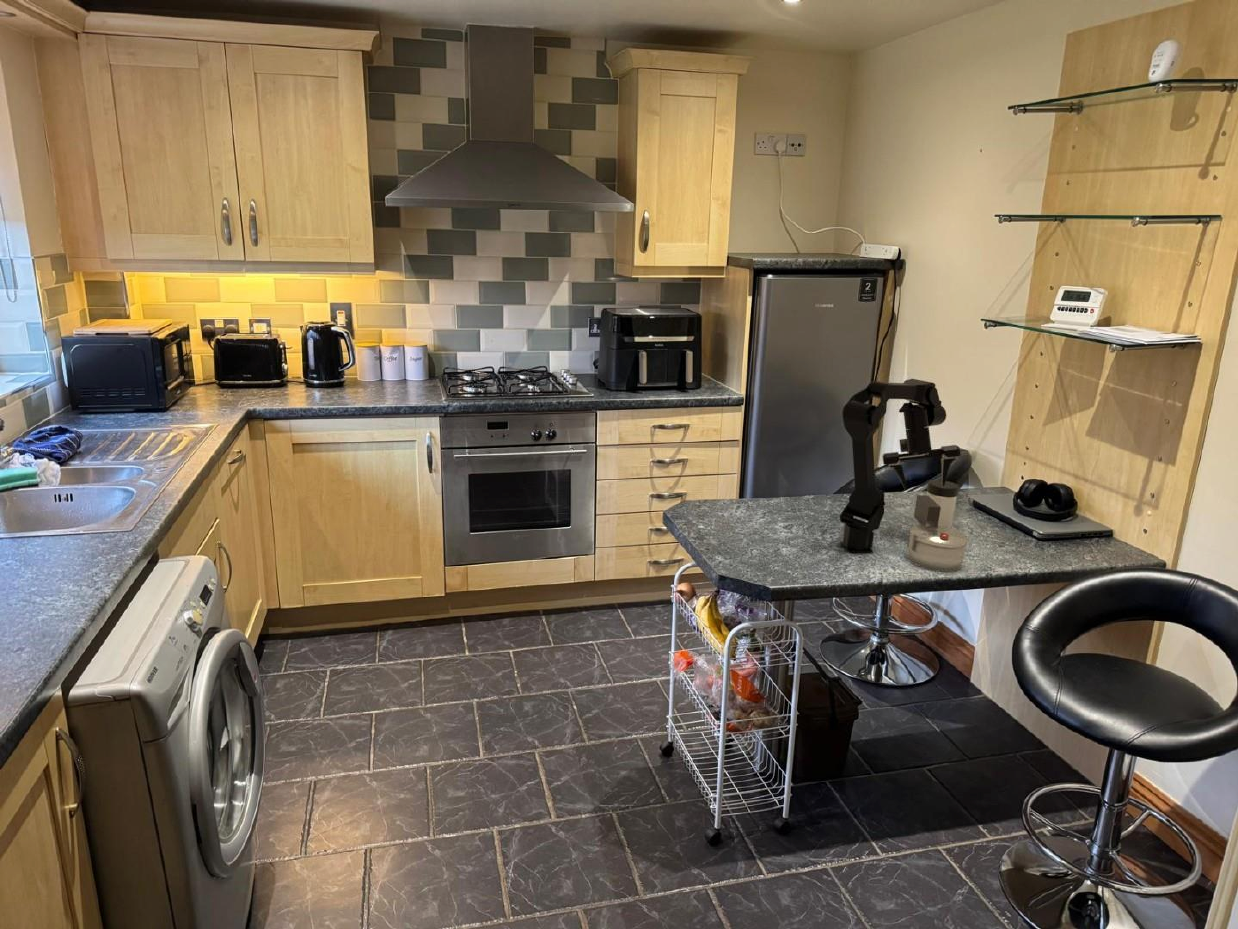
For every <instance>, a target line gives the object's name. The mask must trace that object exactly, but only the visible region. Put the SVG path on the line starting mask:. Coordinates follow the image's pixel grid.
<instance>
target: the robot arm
mask: <svg viewBox="0 0 1238 929" xmlns="http://www.w3.org/2000/svg"><path fill="white" fill-rule="evenodd" d="M936 385H937V384H936V383H935V382H932V381H931V382H930V381H926V380H923V379H922V380H921V379H917V378H910V379H906V380H904V382H885V381H884V382H882V381H877V380H875V381H870V383H868V385H867V386H866V387H865V388H864V389H862V390H860V391H858V392H857V393H854V394H853V395H852V396H851V398H849V400H848V401H847V403H846V404H845V405H844V406H843V408H842V411H841V412H842V413H841V414H842V416H841V417H842V421H843V425H844V429H845V430H846V433H848V435H849V437H850V438H851V445H852V446H851V447H852V448H851V449H852V464H853V480H854V489H853V491H852V492H851V493H850V495H849V497H848V503H847V504H846V505H845V507H844V508H843V510H842V512H841V513H840V514H839V521H840V522H839V523H843V524H844V531H843V537H842V541H839V545H841V546H842V548H843V549H845V550H846V551H847V552H848V553H850V554H851V553H853V554H858V553H865V554H866V553H869V554H871V553H873V552H874V550H873V549H872V548H873V543H874V537H875V533H874V531H877V530H879V528H880V527H881V526H880V525H881V523H882V520H883V517H884V515H885V514H884V513H885V505H886V502H885V493H884V490H882V489H878V488H877V486H876V472H875V469H876V468H875V453H874V452H875V451H874V435H875V434H876V432H877V430H878V429H879V428H880V421H881V420H882V418H883V417H885V415H886V413H887V406H888V403H887V402H888V401H889V400H906V401H908V402H904V403H903V404H902V406H901V407H900V408H899V410H898V412H899V413H903V420H904V426H905V435H906V438H901V439H899V449H900V452H901V453H899V452H898V451H893V452H886V453H883V454H882V456H881V457H882V463H883V465H884V466H885V465H886V466H888V467H889V468H891V469H892V468H893V469H894V471H895V472H896V474H897V476H898V478H899V480H900V481H901V484H902V486H903V488H904V490H905V491H907V490H908V487H907V485H908V484H907V481H906V478H905V473H904V469H903V466H902V463H901V461H909V460H910V461H911V460H919V459H925V458H927V459H928V458H934V457H935V458H936V457H942V458H940V463H941V480H942V486H944V485H945V481H947V476H948V472H949V469H950V467H951V464H952V461H956V457H961V449H960V446H958V445H957V444H952V445H942V446H940V449H932V444H931V443H932V442H931V434H930V427H932V426H940V425H942V424H943V423H944V422H945V421H946V420H947V411H946V409H945V408H944V406H943V405H942V400H940V396H939V393H938V389H937V387H936ZM873 398H875V399H879V400H880V402H879V403H878V405H877V406H876V405H875V404H869V403H867V402H868V401H870V400H872V399H873ZM855 517H857V518H855ZM858 518H859V519H858ZM862 519H863V520H862ZM864 520H865V521H864Z"/></svg>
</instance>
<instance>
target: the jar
mask: <svg viewBox="0 0 1238 929" xmlns="http://www.w3.org/2000/svg"><path fill="white" fill-rule="evenodd" d="M959 489H960V487H959V485H958V484H957V483H954V482H952V481H948V480H946V481H945V485H944V486H942V479H932V480H931V479H930V480H929V481H928V482H927V485H926V493H925V496H929V497H930V498H931V499H932V500H933V501H935V502H936V503H937V504H938V505H939V506H940V507H941V510H940V516H939V521H938V526H942V527H947V528H950V529H952V525H953V520H954V516H955V515H954V514H955V508H956V504H957V498H958V494H959Z"/></svg>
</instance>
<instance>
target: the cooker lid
mask: <svg viewBox="0 0 1238 929" xmlns="http://www.w3.org/2000/svg"><path fill="white" fill-rule="evenodd" d="M940 510H941V507H940V506H939V505H938V504H937V503H936V502H935V501H933V500H932V499H931V498H930V497H929V496H926V495H922V494H921V495H920V494H917V495H916V500H915V507H914V511H913V512H914V513H913V518H914V519H915V520H916V521H917V522H918V523H919V524H918V525H914V526H912V527H911V528H910V531H909V534H910V535H911V537H912V538H914V539H915V540H917V541H919V542H922V543H925V544H928V545H932V546H936V547H943V548H960V547H964V546H967V545H968V541H969V539H968V537H967V535H966V534H964V533H963V532H961V531H958V530H956V529H953V528H951V529H950V528H947V527H942V526H938V521H939V516H940Z"/></svg>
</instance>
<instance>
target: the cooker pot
mask: <svg viewBox="0 0 1238 929" xmlns="http://www.w3.org/2000/svg"><path fill="white" fill-rule="evenodd" d="M966 546H967V545H966ZM966 546H964V547H960V548H943V547H936V546H932V545H928V544H925V543H922V542H919V541H917V540H915V539H914V538H912V537H911V535H910V536H909V543H908V550H907V554H906V555H907V556H906V557H907V558H908V559H909V560H910V561H911V562H910V561H909V560H908V559H907V558H906V559H907V560H908V561H909V562H910V563H912V562H913V563H914V565H915V564H917V565H920V566H922V567H924V568H923V569H926V568H927V569H926V570H931V571H935V570H937V571H936V572H943V573H944V572H946V573H947V572H948V573H949V572H951V573H952V572H957V571H959V570H961V569H962V568H963V564H964V558H965V552H966V549H967V548H966ZM913 563H912V564H913ZM917 565H916V566H917ZM920 566H919V567H920ZM922 567H921V568H922Z"/></svg>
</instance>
